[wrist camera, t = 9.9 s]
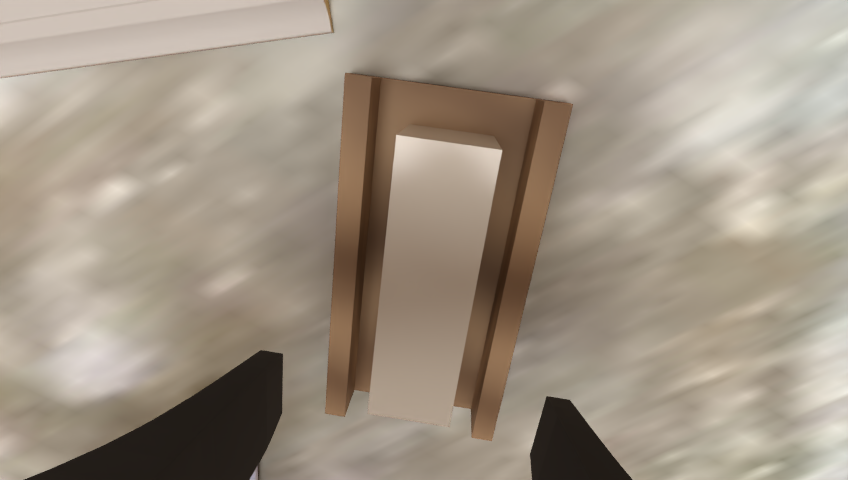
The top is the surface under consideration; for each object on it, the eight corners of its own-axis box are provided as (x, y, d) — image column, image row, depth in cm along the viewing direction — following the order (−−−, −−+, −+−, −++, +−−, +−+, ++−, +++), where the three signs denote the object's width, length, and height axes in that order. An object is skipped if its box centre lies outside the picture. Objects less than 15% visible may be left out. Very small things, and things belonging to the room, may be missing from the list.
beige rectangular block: (451, 369, 22) (449, 427, 19) (383, 358, 22) (367, 413, 19) (494, 135, 18) (502, 150, 14) (409, 123, 18) (396, 135, 14)
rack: (497, 400, 24) (501, 442, 21) (332, 373, 24) (315, 411, 22) (567, 102, 18) (586, 106, 16) (351, 73, 19) (331, 71, 16)
